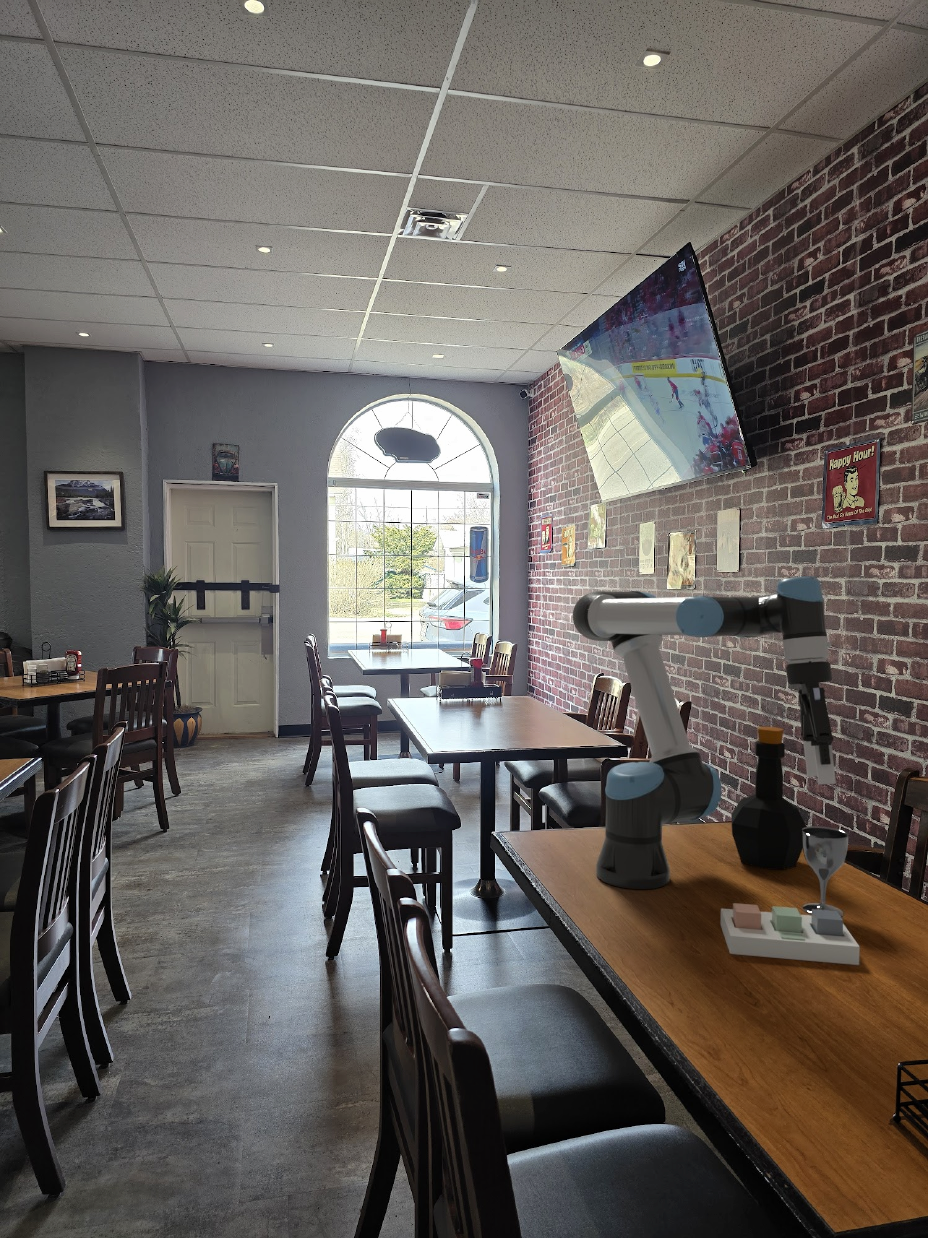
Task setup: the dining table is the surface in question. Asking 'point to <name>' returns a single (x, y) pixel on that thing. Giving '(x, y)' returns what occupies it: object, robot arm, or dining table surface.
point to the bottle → (768, 811)
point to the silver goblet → (824, 858)
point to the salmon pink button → (746, 916)
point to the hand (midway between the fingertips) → (820, 780)
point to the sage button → (786, 919)
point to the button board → (789, 941)
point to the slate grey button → (827, 922)
